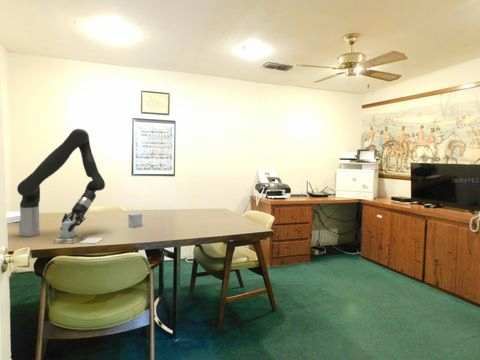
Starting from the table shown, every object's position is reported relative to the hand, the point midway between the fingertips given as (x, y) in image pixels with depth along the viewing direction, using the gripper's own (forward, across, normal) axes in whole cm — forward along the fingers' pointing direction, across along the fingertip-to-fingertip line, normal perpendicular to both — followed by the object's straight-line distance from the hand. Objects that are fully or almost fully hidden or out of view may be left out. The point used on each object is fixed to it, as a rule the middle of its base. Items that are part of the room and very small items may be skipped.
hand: (65, 230), depth 171 cm
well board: (+3, 0, +6) cm, 7 cm away
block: (+2, 0, +5) cm, 5 cm away
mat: (0, +12, +9) cm, 15 cm away
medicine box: (-27, +13, +36) cm, 47 cm away
